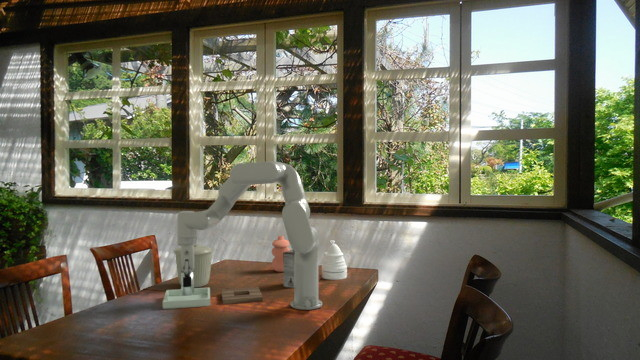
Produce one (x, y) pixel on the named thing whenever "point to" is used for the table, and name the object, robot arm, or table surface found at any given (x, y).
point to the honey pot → (334, 263)
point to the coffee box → (288, 268)
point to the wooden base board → (241, 295)
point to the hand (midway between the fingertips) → (187, 284)
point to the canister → (197, 264)
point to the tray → (186, 299)
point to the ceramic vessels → (280, 254)
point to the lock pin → (187, 290)
